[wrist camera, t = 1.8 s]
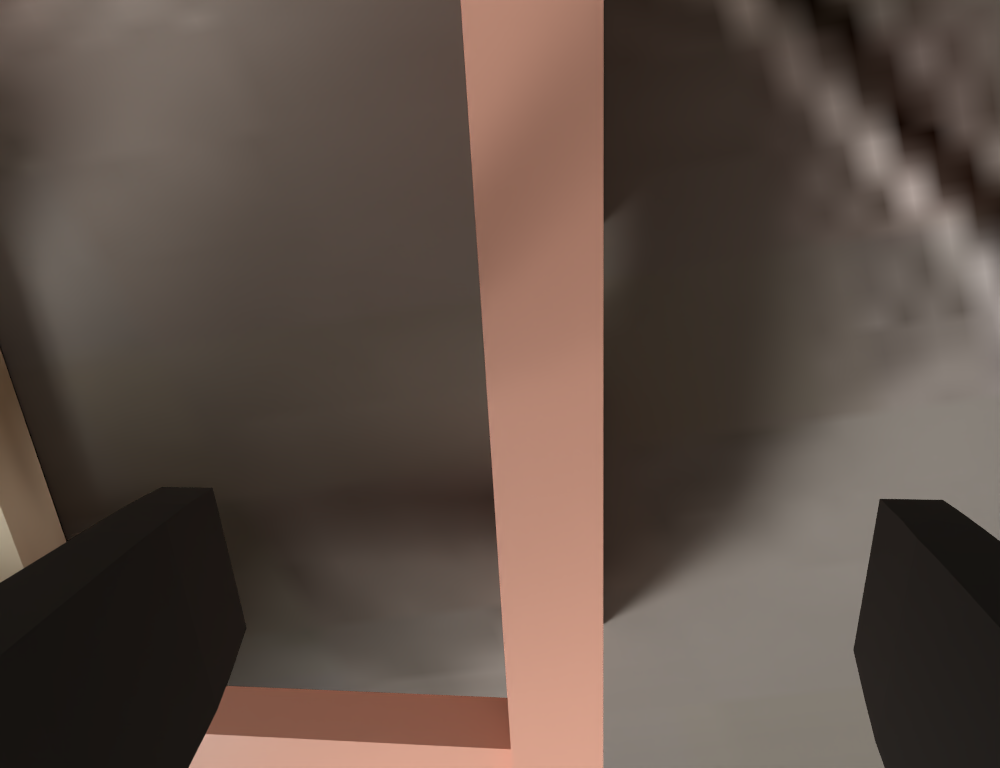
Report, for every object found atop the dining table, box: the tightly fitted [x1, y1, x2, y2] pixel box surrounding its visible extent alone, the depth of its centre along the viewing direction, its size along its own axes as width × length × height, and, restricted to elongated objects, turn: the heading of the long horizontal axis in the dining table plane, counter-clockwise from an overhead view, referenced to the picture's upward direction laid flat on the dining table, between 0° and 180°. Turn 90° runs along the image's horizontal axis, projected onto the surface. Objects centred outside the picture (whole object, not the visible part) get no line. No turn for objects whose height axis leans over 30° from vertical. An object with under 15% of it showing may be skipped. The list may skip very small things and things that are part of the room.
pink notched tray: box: [189, 0, 604, 768], centre depth 15 cm, size 16×11×5 cm
